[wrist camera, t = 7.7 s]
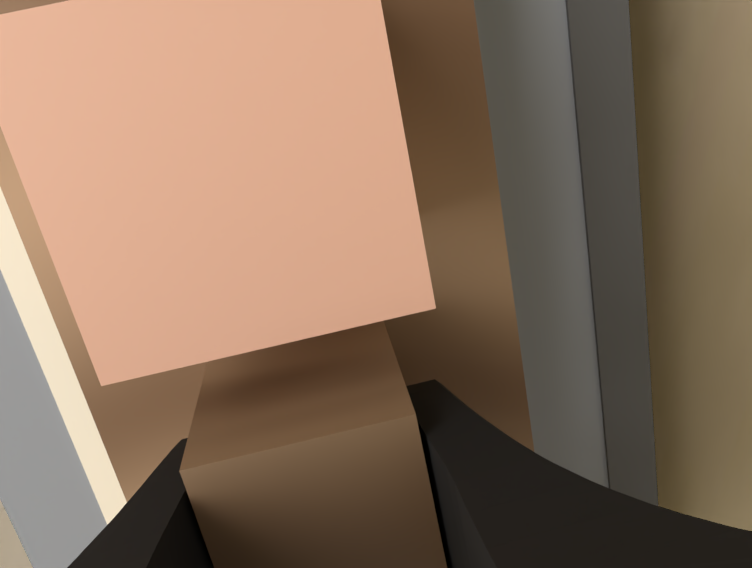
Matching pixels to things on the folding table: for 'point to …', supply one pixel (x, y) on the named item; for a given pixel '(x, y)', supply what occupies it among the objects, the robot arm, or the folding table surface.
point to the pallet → (447, 234)
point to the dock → (527, 268)
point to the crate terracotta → (213, 172)
